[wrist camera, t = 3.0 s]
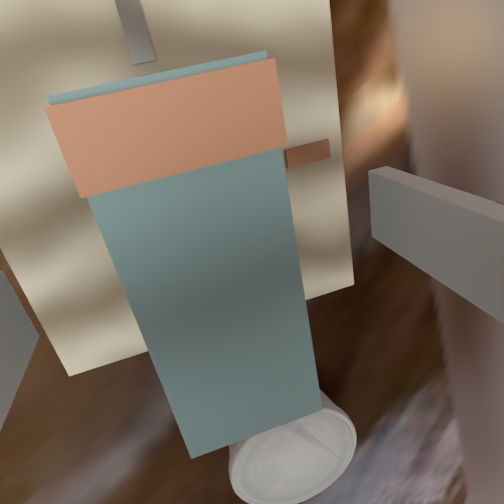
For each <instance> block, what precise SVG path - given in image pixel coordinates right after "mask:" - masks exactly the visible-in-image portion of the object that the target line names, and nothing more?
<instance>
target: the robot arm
mask: <svg viewBox="0 0 504 504" xmlns="http://www.w3.org/2000/svg"><path fill="white" fill-rule="evenodd" d="M368 177H369V195H370V213H371V231H372V237H373V238H375V239H376V240H378V241H379V242H381V243H382V244H384V245H385V246H387V247H388V248H390V249H391V250H393V251H394V252H396V253H397V254H399V255H400V256H402V257H403V258H405V259H406V260H408V261H409V262H411V263H412V264H414V265H415V266H417V267H418V268H420V269H421V270H423V271H424V272H426V273H427V274H429V275H430V276H432V277H433V278H435V279H436V280H438V281H439V282H441V283H443V284H444V285H446V286H447V287H449V288H450V289H452V290H453V291H455V292H456V293H458V294H459V295H461V296H462V297H464V298H465V299H467V300H468V301H470V302H471V303H473V304H474V305H476V306H477V307H479V308H480V309H482V310H483V311H485V312H486V313H488V314H489V315H491V316H492V317H494V318H495V319H497V320H498V321H500V322H501V323H503V324H504V204H501V203H498V202H493V201H491V200H487V199H484V198H481V197H478V196H475V195H472V194H469V193H466V192H463V191H460V190H457V189H454V188H451V187H448V186H445V185H442V184H439V183H436V182H433V181H430V180H427V179H424V178H421V177H418V176H415V175H412V174H409V173H406V172H403V171H400V170H397V169H394V168H391V167H388V166H384V167H381V168H377V169H373V170H370V171H368ZM39 337H40V336H39V335H38V333H37V331H36V329H35V327H34V326H33V324H32V322H31V320H30V318H29V317H28V315H27V313H26V311H25V309H24V308H23V306H22V304H21V302H20V300H19V299H18V297H17V295H16V293H15V291H14V289H13V288H12V286H11V284H10V282H9V280H8V279H7V277H6V275H5V273H4V271H3V270H2V271H0V431H1V428H2V426H3V424H4V421H5V419H6V416H7V414H8V412H9V409H10V407H11V404H12V402H13V400H14V397H15V395H16V392H17V390H18V387H19V385H20V383H21V380H22V378H23V375H24V373H25V371H26V368H27V366H28V363H29V361H30V359H31V356H32V354H33V351H34V349H35V347H36V344H37V342H38V339H39Z"/></svg>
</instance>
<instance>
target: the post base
mask: <svg viewBox="0 0 504 504" xmlns="http://www.w3.org/2000/svg"><path fill="white" fill-rule="evenodd" d="M265 50H266V51H267V57H268V59H272V58H275V61H276V68H277V74H278V81H279V88H280V94H281V101H282V108H283V115H284V121H285V128H286V135H287V141H288V146H286V147H282V153H283V160H284V166H285V172H286V179H287V185H288V191H289V198H290V204H291V211H292V217H293V223H294V230H295V236H296V243H297V249H298V255H299V262H300V268H301V274H302V281H303V287H304V294H305V300H308V299H311V298H314V297H317V296H320V295H323V294H326V293H330V292H333V291H336V290H339V289H342V288H345V287H348V286H351V285H354V277H353V266H352V254H351V243H350V232H349V220H348V209H347V198H346V186H345V175H344V163H343V152H342V141H341V129H340V118H339V107H338V95H337V84H336V72H335V61H334V50H333V38H332V27H331V16H330V4H329V0H0V248H1V250H2V252H3V254H4V256H5V258H6V259H7V261H8V263H9V265H10V267H11V269H12V271H13V273H14V274H15V276H16V278H17V280H18V282H19V284H20V286H21V287H22V289H23V291H24V293H25V295H26V297H27V299H28V300H29V302H30V304H31V306H32V308H33V310H34V312H35V313H36V315H37V317H38V319H39V321H40V323H41V325H42V327H43V328H44V330H45V332H46V334H47V336H48V338H49V340H50V341H51V343H52V345H53V347H54V349H55V351H56V353H57V354H58V356H59V358H60V360H61V362H62V364H63V366H64V367H65V369H66V371H67V373H68V375H69V376H72V375H75V374H78V373H81V372H84V371H87V370H91V369H94V368H97V367H100V366H103V365H106V364H109V363H112V362H115V361H119V360H122V359H125V358H128V357H131V356H134V355H137V354H140V353H143V352H146V351H148V349H147V347H146V344H145V342H144V339H143V337H142V334H141V332H140V329H139V327H138V324H137V322H136V319H135V317H134V314H133V312H132V309H131V307H130V304H129V302H128V299H127V297H126V294H125V292H124V289H123V287H122V284H121V282H120V279H119V277H118V274H117V272H116V269H115V267H114V264H113V262H112V259H111V257H110V254H109V252H108V249H107V247H106V244H105V242H104V239H103V237H102V234H101V232H100V229H99V227H98V224H97V222H96V219H95V217H94V214H93V212H92V209H91V207H90V204H89V202H88V199H87V197H85V198H80V195H79V193H78V190H77V188H76V186H75V183H74V181H73V178H72V176H71V173H70V171H69V168H68V166H67V164H66V161H65V159H64V156H63V154H62V151H61V149H60V146H59V144H58V141H57V139H56V137H55V134H54V132H53V129H52V127H51V124H50V122H49V119H48V117H47V115H46V112H45V110H44V107H48V106H50V104H49V102H48V99H47V97H46V96H51V95H56V94H60V93H65V92H70V91H75V90H79V89H84V88H89V87H94V86H98V85H103V84H108V83H113V82H117V81H122V80H127V79H132V78H136V77H141V76H146V75H151V74H155V73H160V72H165V71H170V70H174V69H179V68H184V67H189V66H193V65H198V64H203V63H208V62H212V61H217V60H222V59H227V58H231V57H236V56H241V55H246V54H250V53H255V52H260V51H265Z"/></svg>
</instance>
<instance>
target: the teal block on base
mask: <svg viewBox="0 0 504 504" xmlns="http://www.w3.org/2000/svg"><path fill="white" fill-rule="evenodd" d="M46 97H47V99H48V102H49V104H50V106H48V107H44V110H45V112H46V115H47V117H48V119H49V122H50V124H51V127H52V129H53V132H54V134H55V137H56V139H57V141H58V144H59V146H60V149H61V151H62V154H63V156H64V159H65V161H66V164H67V166H68V168H69V171H70V173H71V176H72V178H73V181H74V183H75V186H76V188H77V190H78V193H79V195H80V198H85V197H87V199H88V202H89V204H90V207H91V209H92V212H93V214H94V217H95V219H96V222H97V224H98V227H99V229H100V232H101V234H102V237H103V239H104V242H105V244H106V247H107V249H108V252H109V254H110V257H111V259H112V262H113V264H114V267H115V269H116V272H117V274H118V277H119V279H120V282H121V284H122V287H123V289H124V292H125V294H126V297H127V299H128V302H129V304H130V307H131V309H132V312H133V314H134V317H135V319H136V322H137V324H138V327H139V329H140V332H141V334H142V337H143V339H144V342H145V344H146V347H147V349H148V352H149V354H150V357H151V359H152V362H153V364H154V367H155V369H156V372H157V374H158V377H159V379H160V381H161V384H162V386H163V389H164V391H165V394H166V396H167V399H168V401H169V404H170V406H171V409H172V411H173V414H174V416H175V419H176V421H177V424H178V426H179V429H180V431H181V434H182V436H183V439H184V441H185V444H186V446H187V449H188V451H189V454H190V456H191V459H193V458H195V457H198V456H201V455H203V454H206V453H209V452H211V451H214V450H217V449H219V448H222V447H225V446H227V445H230V444H233V443H236V442H238V441H241V440H244V439H246V438H249V437H252V436H254V435H257V434H260V433H262V432H265V431H268V430H270V429H273V428H276V427H278V426H281V425H284V424H287V423H289V422H292V421H295V420H297V419H300V418H303V417H305V416H308V415H311V414H313V413H316V412H319V411H321V410H323V409H322V402H321V396H320V389H319V383H318V377H317V370H316V364H315V358H314V351H313V345H312V338H311V332H310V326H309V319H308V313H307V306H306V300H305V294H304V287H303V281H302V274H301V268H300V262H299V255H298V249H297V243H296V236H295V230H294V223H293V217H292V211H291V204H290V198H289V191H288V185H287V179H286V172H285V166H284V160H283V153H282V147H286V146H288V141H287V135H286V128H285V121H284V115H283V108H282V101H281V94H280V88H279V81H278V74H277V68H276V61H275V58H272V59H268V57H267V51H266V50H265V51H260V52H255V53H250V54H246V55H241V56H236V57H231V58H227V59H222V60H217V61H212V62H208V63H203V64H198V65H193V66H189V67H184V68H179V69H174V70H170V71H165V72H160V73H155V74H151V75H146V76H141V77H136V78H132V79H127V80H122V81H117V82H113V83H108V84H103V85H98V86H94V87H89V88H84V89H79V90H75V91H70V92H65V93H60V94H56V95H51V96H46Z"/></svg>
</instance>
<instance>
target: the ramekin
mask: <svg viewBox="0 0 504 504" xmlns="http://www.w3.org/2000/svg"><path fill="white" fill-rule="evenodd" d="M320 396H321V402H322V409H323V410H321V411H319V412H316V413H313V414H311V415H308V416H305V417H303V418H300V419H297V420H295V421H292V422H289V423H287V424H284V425H281V426H278V427H276V428H273V429H270V430H268V431H265V432H262V433H260V434H257V435H254V436H252V437H249V438H246V439H244V440H241V441H238V442H236V443H233V444H230V445H229V453H230V460H229V476H230V481H231V484H232V487H233V489H234V492H235V493H236V494H237V495H238V496H239V497H240V498H241V499H242V500H244V501H245V502H247V503H249V504H297V503H300V502H303V501H305V500H307V499H309V498H311V497H313V496H315V495H317V494H319V493H320V492H322V491H323V490H325V489H326V488H327V487H328V486H330V485H331V484H332V483H333V482H334V481H335V480H336V479H337V478H338V477H339V476H340V475H341V474H342V473H343V472H344V471H345V469H346V468H347V466H348V465H349V463H350V461H351V459H352V457H353V454H354V451H355V448H356V441H357V436H356V430H355V428H354V425H353V423H352V421H351V420H350V418H349V417H348V415H347V414H346V413H345V412H344V411H343V410H342V409H341V408H339V407H338V406H336V405H335V404H334V403H333V402H332V401H331V400H330V399H329V398H328V397H327V396H326V395H325V394H324V393H323V392H322V391H321V390H320Z"/></svg>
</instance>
